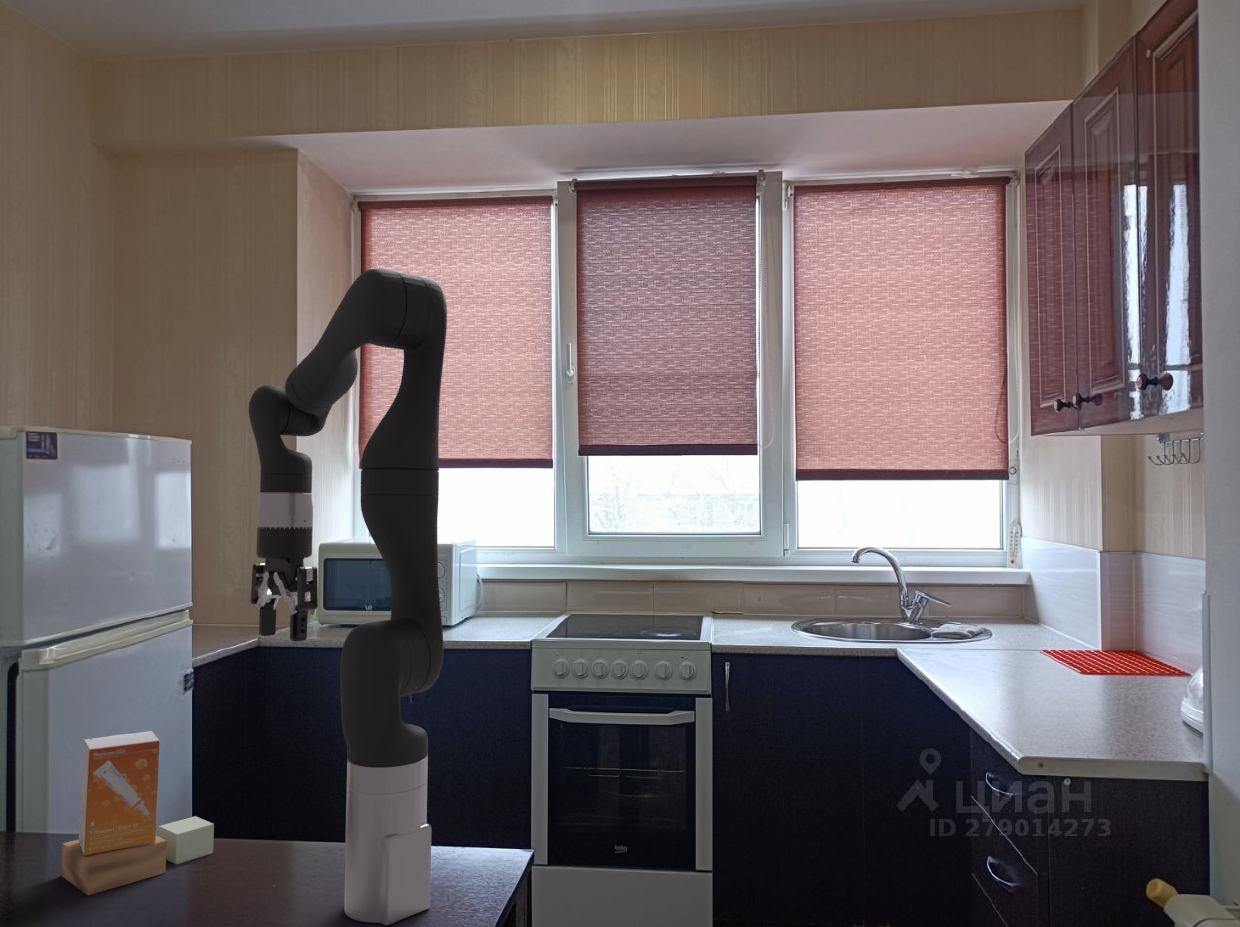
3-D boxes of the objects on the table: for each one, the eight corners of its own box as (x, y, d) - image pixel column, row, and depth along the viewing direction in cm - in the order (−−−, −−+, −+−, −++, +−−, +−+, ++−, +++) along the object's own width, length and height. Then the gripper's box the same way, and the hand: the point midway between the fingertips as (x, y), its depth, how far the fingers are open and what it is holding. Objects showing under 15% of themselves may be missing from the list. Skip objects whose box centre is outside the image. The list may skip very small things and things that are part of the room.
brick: (213, 854, 121) (213, 823, 121) (176, 865, 117) (176, 834, 117) (194, 845, 124) (195, 816, 124) (157, 856, 120) (158, 826, 120)
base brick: (165, 872, 114) (166, 840, 114) (88, 895, 107) (89, 861, 108) (136, 855, 120) (137, 824, 120) (61, 875, 113) (62, 843, 113)
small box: (83, 857, 109) (87, 748, 109) (77, 842, 114) (81, 738, 114) (157, 843, 113) (160, 739, 114) (148, 829, 119) (152, 729, 119)
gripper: (335, 525, 127) (333, 640, 126) (283, 524, 136) (281, 631, 135) (286, 525, 121) (283, 646, 120) (235, 524, 130) (232, 636, 130)
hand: (282, 638), depth 128 cm, fingers open, 8 cm apart
